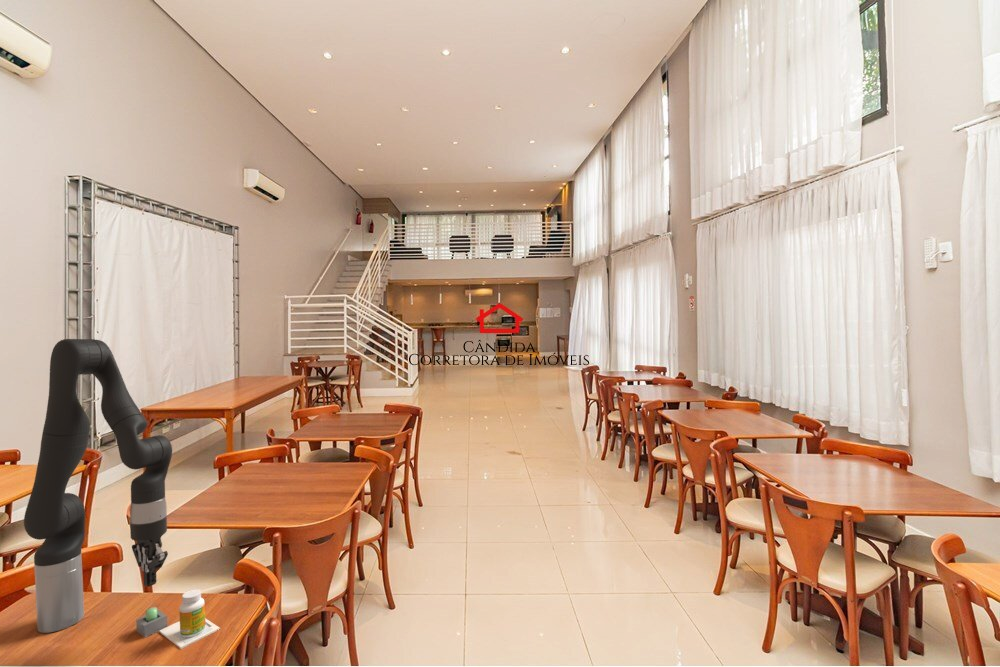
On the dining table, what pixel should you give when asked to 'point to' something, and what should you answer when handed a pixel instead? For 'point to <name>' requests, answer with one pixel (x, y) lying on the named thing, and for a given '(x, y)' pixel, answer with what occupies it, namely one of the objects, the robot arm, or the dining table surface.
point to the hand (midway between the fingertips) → (150, 584)
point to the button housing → (151, 624)
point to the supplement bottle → (192, 614)
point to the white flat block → (175, 637)
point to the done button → (151, 614)
